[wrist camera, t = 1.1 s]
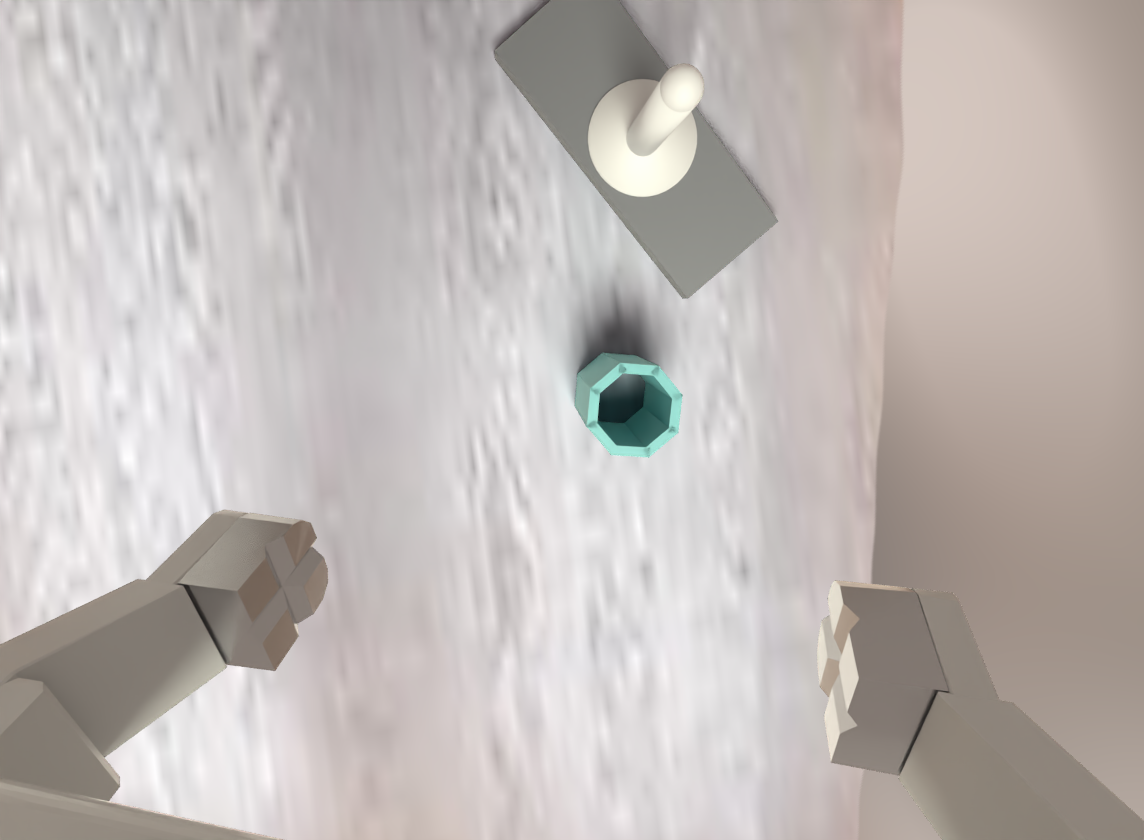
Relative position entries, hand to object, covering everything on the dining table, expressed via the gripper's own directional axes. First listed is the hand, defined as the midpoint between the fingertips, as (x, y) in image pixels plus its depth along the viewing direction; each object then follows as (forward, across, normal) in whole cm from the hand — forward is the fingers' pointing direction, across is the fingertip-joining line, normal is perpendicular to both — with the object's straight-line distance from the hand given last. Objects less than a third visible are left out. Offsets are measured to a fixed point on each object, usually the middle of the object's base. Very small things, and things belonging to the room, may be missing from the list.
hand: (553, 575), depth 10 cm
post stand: (+39, +3, 0) cm, 40 cm away
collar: (+32, +4, +16) cm, 36 cm away
